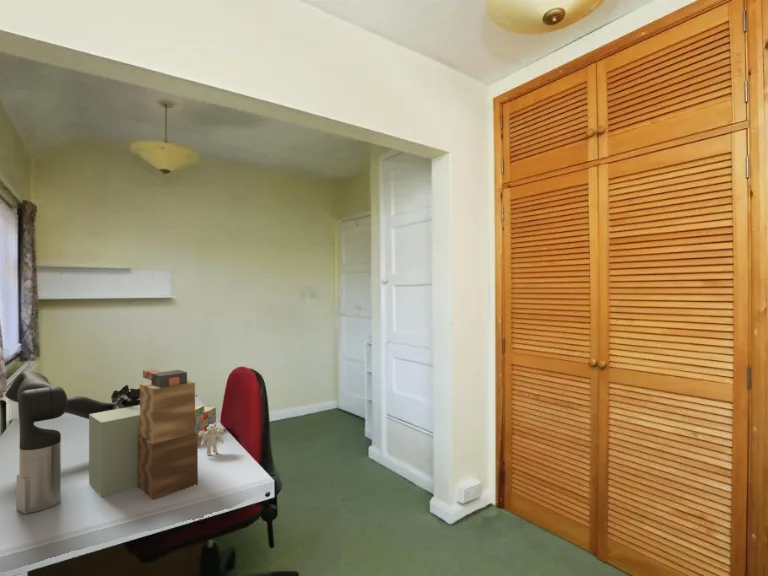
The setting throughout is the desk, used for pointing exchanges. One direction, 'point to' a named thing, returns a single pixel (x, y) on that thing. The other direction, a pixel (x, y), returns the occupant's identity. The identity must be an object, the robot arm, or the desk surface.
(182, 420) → the tower
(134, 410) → the upright pale green block
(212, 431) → the cream toy figurine
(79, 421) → the desk surface
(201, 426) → the stack of blocks
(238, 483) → the desk surface
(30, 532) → the desk surface
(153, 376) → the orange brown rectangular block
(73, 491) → the desk surface
